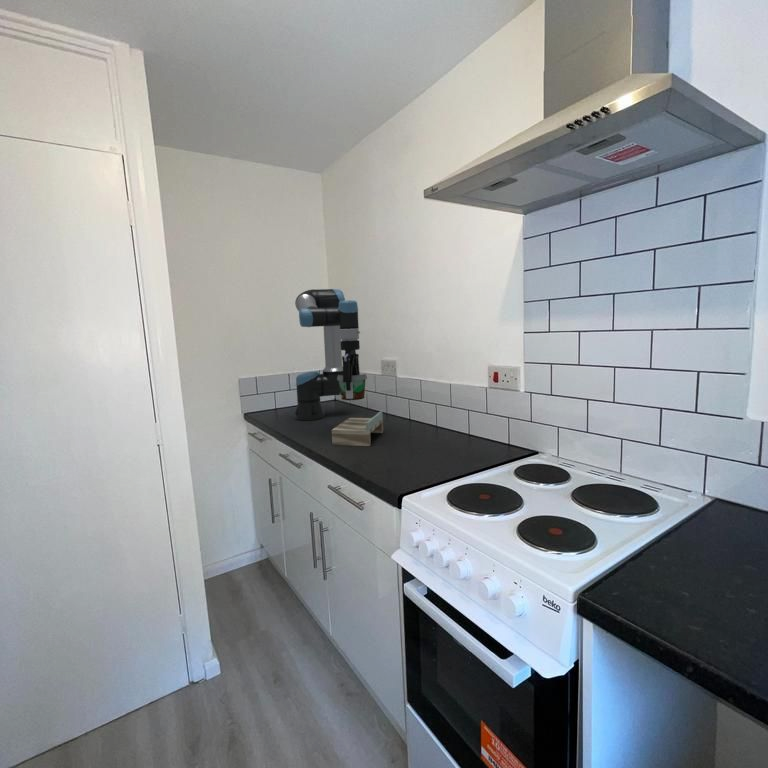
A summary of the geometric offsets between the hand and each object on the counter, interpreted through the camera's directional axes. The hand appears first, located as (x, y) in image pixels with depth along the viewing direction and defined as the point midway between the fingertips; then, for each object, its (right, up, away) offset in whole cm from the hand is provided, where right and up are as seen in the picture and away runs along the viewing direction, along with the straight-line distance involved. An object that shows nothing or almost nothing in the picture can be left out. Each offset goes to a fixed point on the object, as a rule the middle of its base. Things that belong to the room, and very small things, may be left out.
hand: (352, 396), depth 170 cm
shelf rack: (+2, -17, +2) cm, 17 cm away
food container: (0, -1, 0) cm, 1 cm away
